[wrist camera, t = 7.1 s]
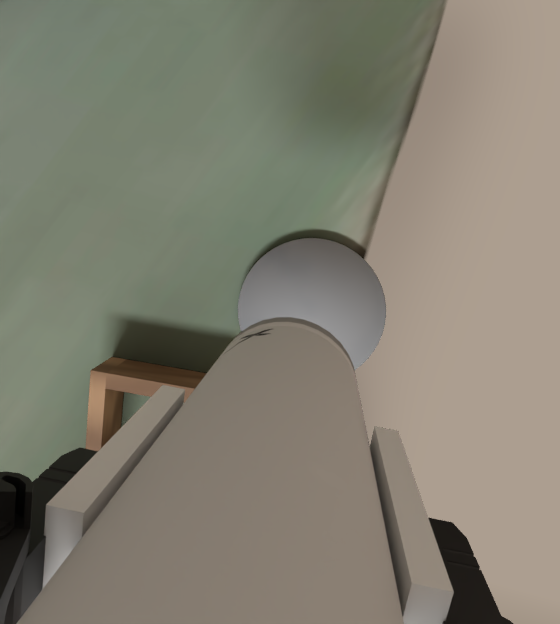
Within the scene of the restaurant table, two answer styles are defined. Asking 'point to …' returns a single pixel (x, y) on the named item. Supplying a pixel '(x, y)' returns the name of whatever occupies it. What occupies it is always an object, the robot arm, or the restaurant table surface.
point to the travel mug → (243, 503)
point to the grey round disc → (318, 293)
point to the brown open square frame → (133, 379)
